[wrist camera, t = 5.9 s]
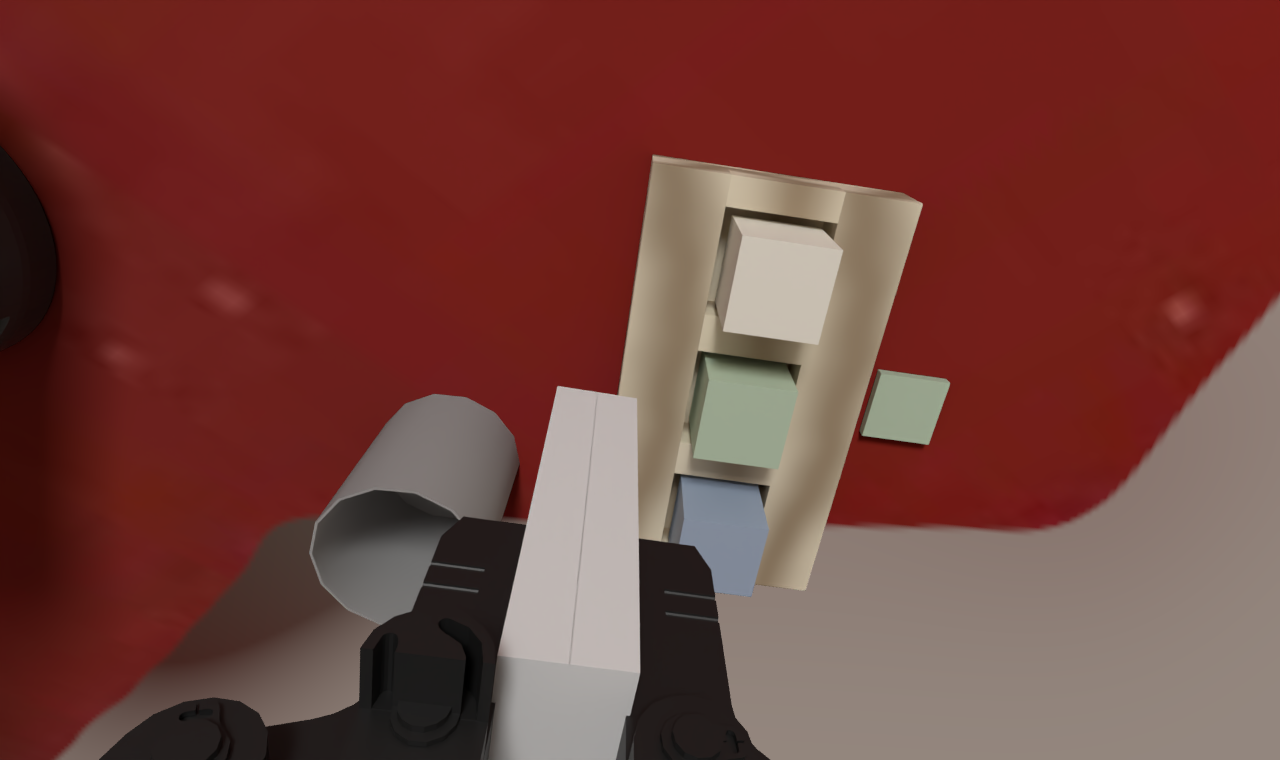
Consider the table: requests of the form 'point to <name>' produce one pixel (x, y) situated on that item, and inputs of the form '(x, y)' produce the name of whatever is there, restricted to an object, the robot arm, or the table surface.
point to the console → (756, 341)
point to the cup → (411, 501)
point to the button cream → (776, 279)
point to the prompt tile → (904, 407)
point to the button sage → (741, 410)
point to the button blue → (722, 529)
